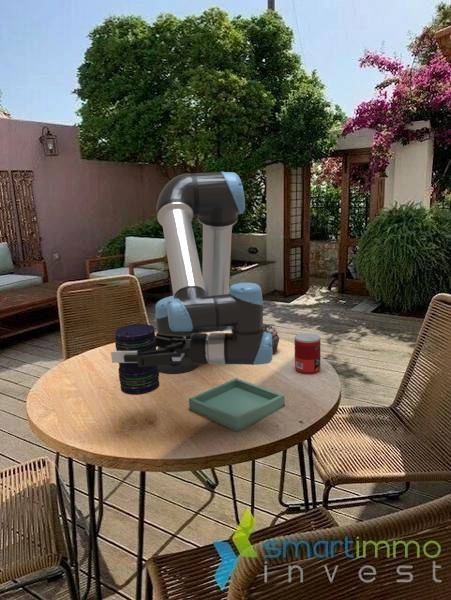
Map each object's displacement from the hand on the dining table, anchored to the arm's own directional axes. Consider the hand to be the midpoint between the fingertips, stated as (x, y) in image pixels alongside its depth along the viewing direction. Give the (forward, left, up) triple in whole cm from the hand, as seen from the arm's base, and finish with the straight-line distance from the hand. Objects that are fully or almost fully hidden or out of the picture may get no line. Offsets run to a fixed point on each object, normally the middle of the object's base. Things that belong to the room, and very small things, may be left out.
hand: (119, 349), depth 114 cm
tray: (+16, +24, -20) cm, 35 cm away
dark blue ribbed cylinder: (+3, +3, -10) cm, 11 cm away
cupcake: (-6, +61, -20) cm, 64 cm away
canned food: (+15, +57, -20) cm, 62 cm away
